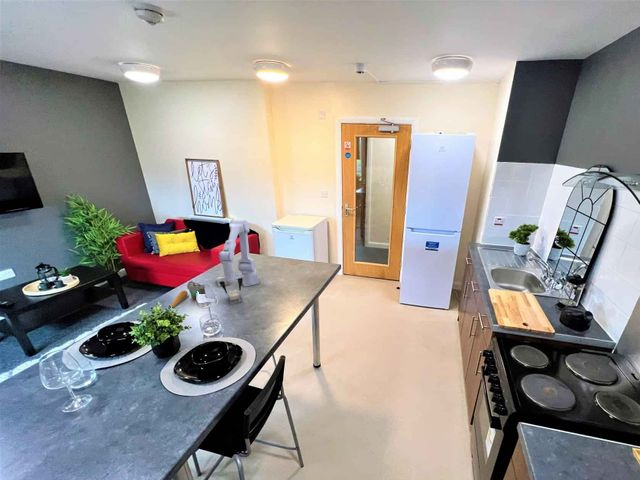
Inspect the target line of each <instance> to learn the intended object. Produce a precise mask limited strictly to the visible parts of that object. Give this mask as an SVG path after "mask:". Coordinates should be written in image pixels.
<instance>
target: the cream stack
mask: <svg viewBox="0 0 640 480" xmlns="http://www.w3.org/2000/svg"><path fill="white" fill-rule="evenodd" d="M224 277H225V275H224V276H219V277H216V280H217V279H220V278H224ZM216 283H217V286H218V287H222V286H221V285H220V283H218V282H217V281H216ZM228 285H229V283H228V281H226V282H225V286H228Z"/></svg>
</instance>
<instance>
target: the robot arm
mask: <svg viewBox="0 0 640 480" xmlns="http://www.w3.org/2000/svg"><path fill="white" fill-rule="evenodd" d="M228 226H229V230H230V232H229V236H228V239H227V240H225V243H224V246H223V248H222V251H219V254H218V259H219V261H220V263H221V265H222V268H223V273H224V276H225V277H224V276H223V277H224V278H220V279H217V278H216V283H217V282H218V283H220V285H221V286H220V287H221V288H222V289H223V290H224V292H225V294H228V292H227V291H228V290H227V288H226V285H225V282H226V281H227V282H233V281H237V284H238V290H239V291H240V292H241V291H242V286H243V287H249V286H255V285H259V283H260V281H259V275H258V271H257V270H256V263H255V259H254V258H252V257H251V256H250V247H249V238H248V237H249V236H248V233H250V223H249V221H248V220H247V219H246V220H243V219H241V220H239V219H231V220H230V221H229V225H228ZM238 236H239V246H240V247H239V248H240V256H241V257H240V258H239V259H238V260H237V270H238V271H239V272H240V273H241V274H236V270H235V264H234V259H235V249H236V246H237V243H236V241H237V239H238ZM218 283H217V284H218Z"/></svg>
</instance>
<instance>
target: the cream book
mask: <svg viewBox="0 0 640 480" xmlns="http://www.w3.org/2000/svg"><path fill="white" fill-rule="evenodd" d="M227 291H228V292H227V294H229V296H230V300H234V299H238V298H240V297H241V296H240V294H239V291H238V289H234V290H227ZM229 296H228V297H229ZM240 299H241V298H240ZM230 300H229V301H230Z"/></svg>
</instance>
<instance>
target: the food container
mask: <svg viewBox="0 0 640 480" xmlns="http://www.w3.org/2000/svg"><path fill="white" fill-rule="evenodd" d="M186 289H187V290H189V294H190V296H191V298H192V299H191V300H192V301H194V302H197V301H196V293H197V291H198V292H199V294H206V286H205V284H200V283H198V282H194V281H193V280H189V281H188V283H187V284H186ZM206 295H207V294H206Z"/></svg>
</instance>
